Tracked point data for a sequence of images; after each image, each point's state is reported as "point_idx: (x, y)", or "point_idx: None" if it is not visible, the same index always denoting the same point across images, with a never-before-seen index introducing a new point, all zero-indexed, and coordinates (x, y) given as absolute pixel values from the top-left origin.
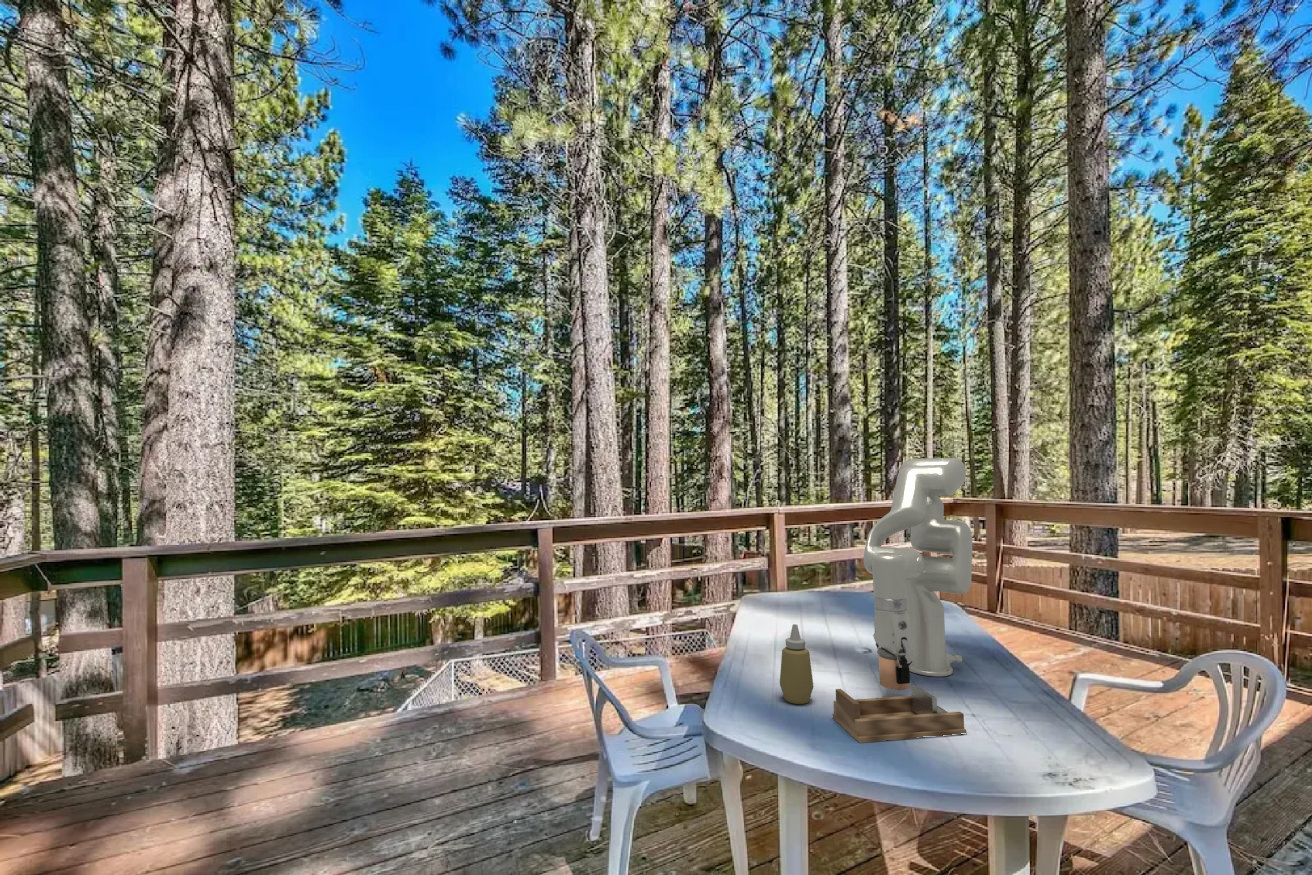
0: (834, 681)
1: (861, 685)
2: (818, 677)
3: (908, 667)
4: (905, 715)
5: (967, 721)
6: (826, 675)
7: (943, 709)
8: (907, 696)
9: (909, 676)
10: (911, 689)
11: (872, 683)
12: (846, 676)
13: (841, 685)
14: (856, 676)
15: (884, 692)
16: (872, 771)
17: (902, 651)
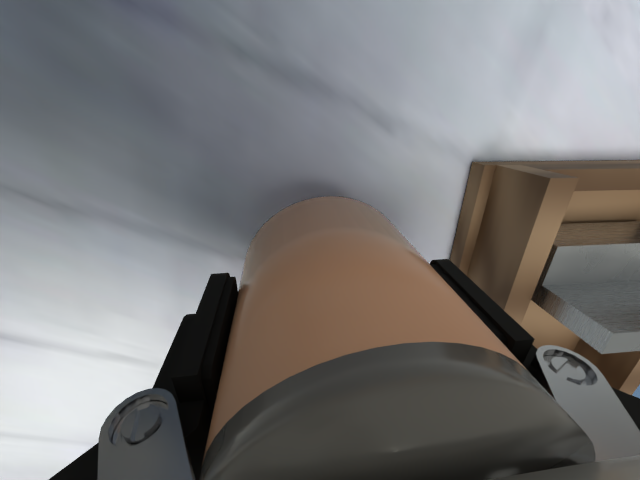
0: (104, 378)
1: (145, 302)
2: (62, 413)
3: (519, 334)
4: (622, 385)
5: (621, 55)
6: (25, 385)
7: (603, 170)
8: (508, 308)
9: (469, 281)
10: (580, 336)
11: (109, 246)
12: (17, 319)
13: (152, 369)
14: (3, 277)
15: (235, 246)
16: None
17: (471, 463)
